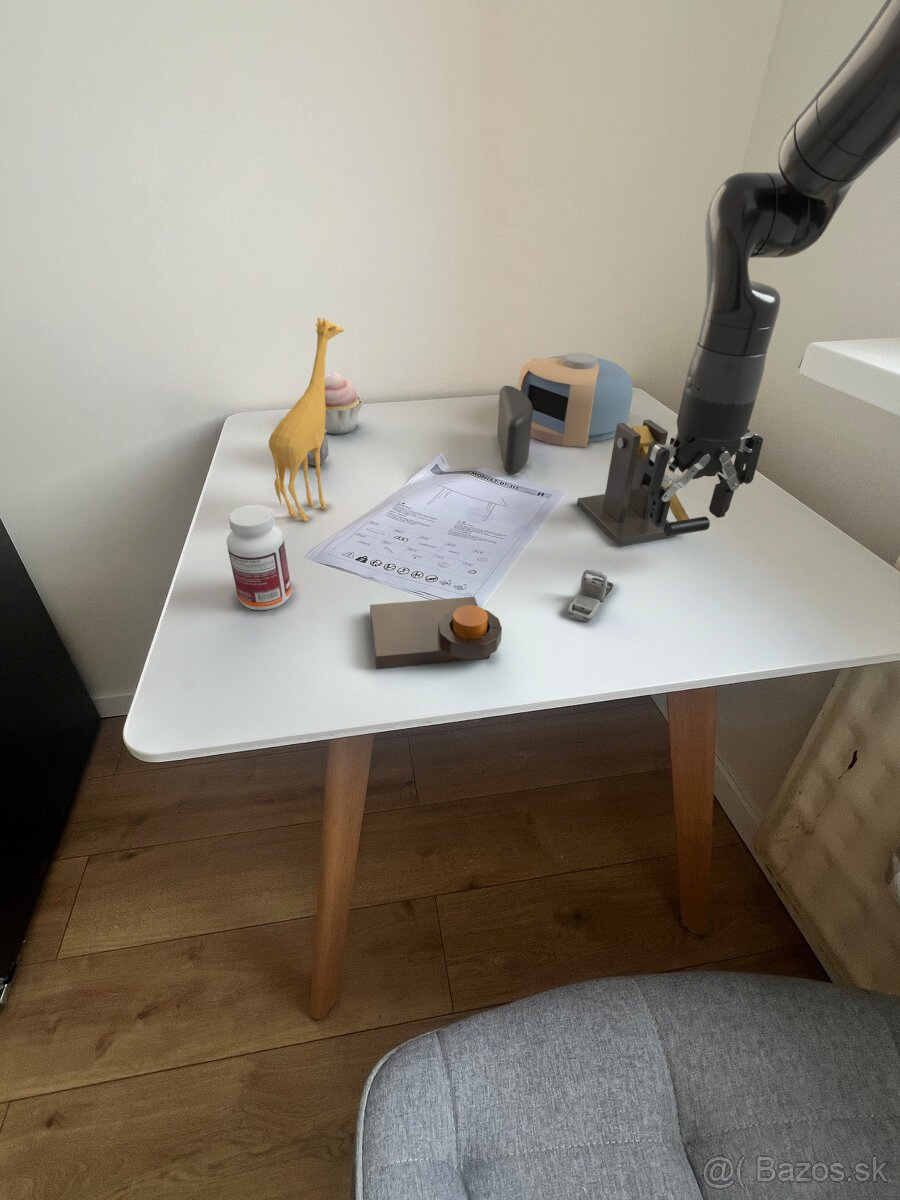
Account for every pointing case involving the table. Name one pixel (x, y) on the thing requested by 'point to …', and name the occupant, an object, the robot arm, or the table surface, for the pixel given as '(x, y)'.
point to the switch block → (427, 633)
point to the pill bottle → (258, 558)
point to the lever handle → (683, 521)
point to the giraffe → (303, 427)
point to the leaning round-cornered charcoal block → (514, 428)
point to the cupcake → (340, 404)
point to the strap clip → (590, 596)
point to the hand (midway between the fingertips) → (686, 519)
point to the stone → (322, 452)
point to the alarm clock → (576, 398)
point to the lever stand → (625, 491)
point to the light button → (470, 621)
